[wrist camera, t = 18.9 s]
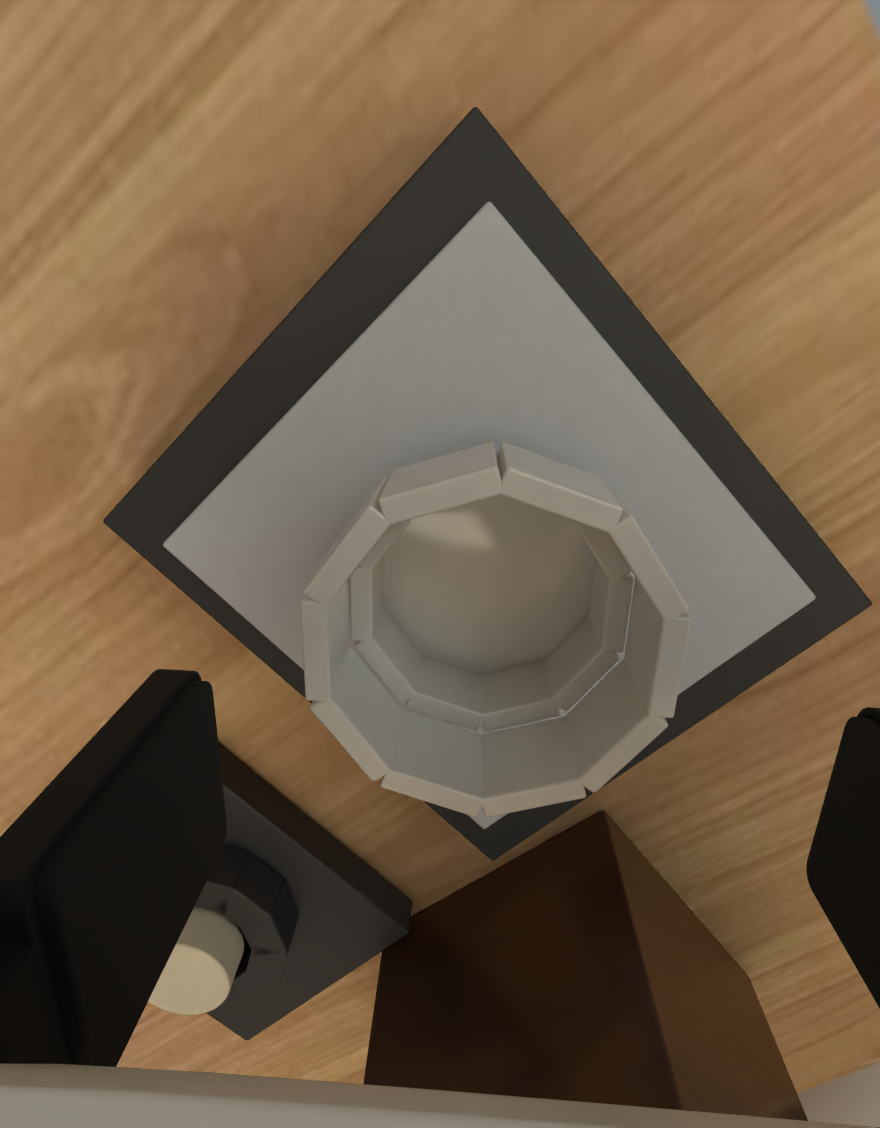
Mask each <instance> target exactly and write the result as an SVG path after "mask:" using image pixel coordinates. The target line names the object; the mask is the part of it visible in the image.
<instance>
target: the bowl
mask: <svg viewBox="0 0 880 1128" xmlns="http://www.w3.org/2000/svg"><path fill="white" fill-rule="evenodd" d="M631 571H632V572H633V574H634V575H635V584H634V591H633V598H632V605H631V612H630V619H629V626H628V633H627V640H626V647H625V654H624V659H623V660H621V661H620V662H619V663H618V664H617V665H616V666H615V667H614V668H613V669H612V670H611V671H610V672H609V673H608V674H607V675H606V676H605V677H604V678H603V679H602V680H601V681H600V682H599V683H598V684H597V685H596V686H595V687H594V688H593V689H592V690H591V691H590V692H589V693H588V694H587V695H586V696H585V697H584V698H583V699H582V700H581V701H580V702H579V703H578V704H577V705H576V706H575V707H574V708H573V709H572V710H571V711H570V712H569V713H568V714H567V715H566V716H565V717H561V718H556V719H552V720H547V721H543V722H538V723H534V724H529V725H525V726H520V727H516V728H511V729H506V730H502V731H497V732H493V733H488V734H484V735H480V734H477V733H474V732H471V731H468V730H465V729H462V728H459V727H456V726H453V725H450V724H447V723H443V722H440V721H437V720H434V719H431V718H428V717H425V716H422V715H419V714H416V713H413V712H410V711H407V710H404V709H401V708H400V707H399V706H398V705H397V703H396V702H395V701H394V700H393V698H392V697H391V696H390V695H389V693H388V692H387V691H386V690H385V689H384V687H383V686H382V685H381V684H380V682H379V681H378V680H377V679H376V677H375V676H374V675H373V674H372V673H371V671H370V670H369V669H368V668H367V666H366V665H365V664H364V663H363V661H362V660H361V659H360V658H359V656H358V655H357V654H356V653H355V652H354V650H353V649H352V648H351V647H350V630H349V593H348V578H349V591H350V629H351V640H353V641H356V642H355V645H354V648H355V649H356V651H357V652H358V653H359V654H360V655H361V657H362V658H363V659H364V660H365V662H366V663H367V664H368V665H369V667H370V668H371V669H372V670H373V671H374V673H375V674H376V675H377V676H378V678H379V679H380V680H381V681H382V683H383V684H384V685H385V686H386V688H387V689H388V690H389V691H390V692H391V694H392V695H393V696H394V697H395V699H396V700H397V701H398V702H399V703H400V704H401V703H403V702H405V701H406V700H407V701H406V708H407V709H410V710H413V711H416V712H419V713H422V714H425V715H428V716H432V717H435V718H438V719H441V720H444V721H447V722H450V723H453V724H456V725H459V726H462V727H465V728H468V729H471V730H474V731H478V730H479V728H480V726H481V724H482V726H483V729H484V731H485V732H487V731H492V730H496V729H501V728H506V727H510V726H515V725H519V724H524V723H528V722H533V721H537V720H542V719H546V718H551V717H556V716H559V715H560V711H559V707H560V708H561V709H562V710H564V711H568V710H569V709H570V708H571V707H572V706H573V705H574V704H575V703H576V702H577V701H578V700H579V699H580V698H581V697H582V696H583V695H584V694H585V693H586V692H587V691H588V690H589V689H590V688H591V687H592V686H593V685H594V684H595V683H596V682H597V681H598V680H599V679H600V678H601V677H602V676H603V675H604V674H605V673H606V672H607V671H608V670H609V669H610V668H611V667H612V666H613V665H614V664H615V663H616V662H617V661H618V660H619V656H618V654H617V652H618V653H621V652H623V650H624V644H625V637H626V630H627V622H628V615H629V608H630V601H631V594H632V587H633V580H634V579H633V576H632V575H631V573H630V572H631ZM304 594H305V595H304V597H303V599H302V601H301V603H300V609H301V627H302V645H303V663H304V680H305V697H306V700H309V701H312V703H311V706H310V709H311V711H312V712H313V713H314V714H315V716H316V717H317V718H318V719H319V720H320V721H321V723H322V724H323V725H324V726H325V727H326V728H327V729H328V731H329V732H330V733H331V734H332V735H333V736H334V738H335V739H336V740H337V741H338V742H339V743H340V744H341V746H342V747H343V748H344V749H345V750H346V751H347V753H348V754H349V755H350V756H351V757H352V758H353V760H354V761H355V762H356V763H357V764H358V765H359V766H360V768H361V769H362V770H363V771H364V772H365V773H366V775H367V776H368V777H369V778H370V779H371V780H372V781H376V780H378V779H380V778H382V780H381V787H382V788H384V789H388V790H391V791H394V792H397V793H400V794H403V795H407V796H410V797H413V798H416V799H419V800H422V801H426V802H429V803H432V804H435V805H438V806H442V807H445V808H448V809H451V810H454V811H457V812H461V813H464V814H467V815H470V816H473V817H477V816H478V815H479V812H480V810H481V808H482V809H483V812H484V815H485V816H486V817H493V816H498V815H503V814H507V813H512V812H517V811H522V810H527V809H532V808H537V807H542V806H547V805H552V804H557V803H562V802H567V801H572V800H577V799H582V798H585V797H586V791H585V787H586V788H587V789H588V790H590V791H591V792H593V793H595V792H597V791H598V790H599V789H600V788H601V787H602V786H603V785H604V784H606V783H607V782H608V781H609V780H610V779H611V778H612V777H613V776H614V775H615V774H616V773H618V772H619V771H620V770H621V769H622V768H623V767H624V766H625V765H626V764H627V763H629V762H630V761H631V760H632V759H633V758H634V757H635V756H636V755H637V754H638V753H639V752H641V751H642V750H643V749H644V748H645V747H646V746H647V745H648V744H649V743H650V742H651V741H653V740H654V739H655V738H656V737H657V736H658V735H659V734H660V733H661V732H662V731H664V730H665V729H666V728H667V726H668V723H667V721H666V719H665V718H673V717H674V712H675V707H676V701H677V696H678V690H679V685H680V679H681V674H682V668H683V662H684V657H685V651H686V646H687V640H688V635H689V629H690V624H691V618H690V616H689V615H688V613H687V612H686V611H687V610H688V609H689V607H688V605H687V603H686V601H685V600H684V598H683V596H682V595H681V593H680V591H679V590H678V588H677V587H676V585H675V583H674V582H673V580H672V578H671V577H670V575H669V573H668V572H667V570H666V569H665V567H664V565H663V564H662V562H661V560H660V559H659V557H658V555H657V554H656V552H655V551H654V549H653V547H652V546H651V544H650V542H649V541H648V539H647V537H646V536H645V534H644V533H643V531H642V529H641V528H640V526H639V524H638V523H637V521H636V519H635V518H634V516H633V515H632V514H631V512H630V511H629V510H628V508H627V507H626V506H625V504H624V503H623V502H622V500H621V499H620V498H619V497H618V495H617V494H616V493H615V491H614V490H613V489H612V487H611V486H610V485H609V484H607V485H605V483H604V482H603V480H602V479H601V478H600V477H598V476H596V475H593V474H590V473H587V472H585V471H582V470H579V469H576V468H574V467H571V466H568V465H565V464H563V463H560V462H557V461H554V460H552V459H549V458H546V457H544V456H541V455H538V454H535V453H533V452H530V451H527V450H524V449H522V448H519V447H516V446H513V445H511V444H508V443H502V444H501V446H500V449H499V451H496V448H495V444H494V443H493V442H489V443H486V444H482V445H479V446H475V447H472V448H468V449H465V450H461V451H458V452H454V453H451V454H447V455H444V456H440V457H437V458H433V459H429V460H426V461H422V462H419V463H415V464H412V465H408V466H405V467H401V468H398V469H394V470H393V471H392V473H391V475H390V477H389V478H388V477H386V476H384V477H383V478H382V479H381V480H380V482H379V483H378V484H377V486H376V487H375V488H374V490H373V491H372V492H371V494H370V495H369V496H368V498H367V499H366V500H365V502H364V503H363V504H362V505H361V507H360V508H359V509H358V511H357V512H356V513H355V515H354V516H353V517H352V519H351V520H350V521H349V523H348V524H347V525H346V527H345V528H344V529H343V531H342V532H341V533H340V535H339V536H338V537H337V539H336V540H335V541H334V543H333V544H332V545H331V547H330V548H329V549H328V551H327V552H326V554H325V556H324V557H323V559H322V561H321V563H320V564H319V566H318V568H317V569H316V571H315V573H314V574H313V576H312V578H311V579H310V581H309V583H308V584H307V586H306V588H305V590H304Z"/></svg>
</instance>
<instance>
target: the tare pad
mask: <svg viewBox="0 0 880 1128" xmlns="http://www.w3.org/2000/svg"><path fill="white" fill-rule="evenodd" d="M218 746H219V755H220V764H221V774H222V783H223V793H224V802H225V811H226V821H227V831H226V838H225V842H224V846H223V849H222V851H221V853H220V855H219V857H218V859H217V861H216V863H215V865H214V868H213V870H212V872H211V874H210V876H209V878H208V880H207V882H206V884H205V886H204V888H203V890H202V892H201V894H200V896H199V898H198V900H197V902H196V904H195V906H196V907H200V908H204V909H208V910H212V911H216V912H219V913H221V914H222V915H223V916H225V917H226V918H227V919H229V920H230V921H232V922H233V923H234V924H236V925H237V926H238V928H239V929H240V931H241V933H242V936H243V940H244V952H243V955H242V958H241V960H240V963H239V966H238V969H237V972H236V974H235V977H234V980H233V983H232V986H231V989H230V991H229V994H228V996H227V998H226V999H225V1000H224V1002H223V1003H222V1004H221V1005H220V1006H218V1007H217V1008H215V1009H214V1010H211V1011H209V1012H206V1013H207V1014H209V1015H210V1016H211V1017H213V1018H214V1019H216V1020H217V1021H219V1022H220V1023H222V1024H223V1025H225V1026H226V1027H227V1028H229V1029H230V1030H232V1031H233V1032H235V1033H236V1034H238V1035H239V1036H241V1037H242V1038H243V1039H245V1040H249V1039H251V1038H252V1037H254V1036H255V1035H257V1034H258V1033H260V1032H261V1031H263V1030H264V1029H266V1028H267V1027H269V1026H270V1025H272V1024H273V1023H275V1022H276V1021H278V1020H279V1019H281V1018H282V1017H284V1016H285V1015H287V1014H288V1013H290V1012H291V1011H293V1010H294V1009H296V1008H297V1007H299V1006H300V1005H302V1004H303V1003H305V1002H306V1001H308V1000H309V999H311V998H312V997H314V996H315V995H317V994H318V993H320V992H321V991H323V990H324V989H326V988H327V987H329V986H330V985H332V984H333V983H335V982H336V981H338V980H339V979H341V978H342V977H344V976H345V975H347V974H348V973H350V972H351V971H353V970H354V969H356V968H357V967H359V966H360V965H362V964H363V963H365V962H366V961H368V960H369V959H371V958H372V957H374V956H375V955H377V954H378V953H380V952H381V951H383V950H384V949H386V948H387V947H389V946H390V945H392V944H393V943H395V942H396V941H398V940H399V939H401V938H402V937H404V936H405V935H407V934H408V933H409V927H410V918H411V908H412V901H411V900H410V899H408V898H407V897H406V896H405V895H404V894H402V893H401V892H400V891H399V890H397V889H396V888H395V887H394V886H393V885H391V884H390V883H389V882H388V881H386V880H385V879H384V878H383V877H382V876H380V875H379V874H378V873H377V872H375V871H374V870H373V869H372V868H370V867H369V866H368V865H367V864H366V863H364V862H363V861H362V860H361V859H359V858H358V857H357V856H356V855H355V854H353V853H352V852H351V851H350V850H348V849H347V848H346V847H345V846H343V845H342V844H341V843H340V842H339V841H337V840H336V839H335V838H334V837H332V836H331V835H330V834H329V833H328V832H326V831H325V830H324V829H323V828H321V827H320V826H319V825H318V824H316V823H315V822H314V821H313V820H312V819H310V818H309V817H308V816H307V815H305V814H304V813H303V812H302V811H301V810H299V809H298V808H297V807H296V806H294V805H293V804H292V803H291V802H289V801H288V800H287V799H286V798H285V797H283V796H282V795H281V794H280V793H278V792H277V791H276V790H275V789H274V788H272V787H271V786H270V785H269V784H267V783H266V782H265V781H264V780H262V779H261V778H260V777H259V776H258V775H256V774H255V773H254V772H253V771H251V770H250V769H249V768H248V767H247V766H245V765H244V764H243V763H242V762H240V761H239V760H238V759H237V758H235V757H234V756H233V755H232V754H231V753H229V752H228V751H227V750H226V749H224V748H223V747H222V746H221V745H220V744H218Z"/></svg>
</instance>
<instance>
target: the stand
mask: <svg viewBox="0 0 880 1128" xmlns="http://www.w3.org/2000/svg"><path fill="white" fill-rule="evenodd" d="M364 1084H366V1085H379V1086H392V1087H405V1088H418V1089H431V1090H444V1091H456V1092H469V1093H481V1094H493V1095H505V1096H517V1097H530V1098H542V1099H554V1100H566V1101H578V1102H590V1103H603V1104H614V1105H626V1106H638V1107H650V1108H662V1109H674V1110H686V1111H698V1112H710V1113H722V1114H733V1115H745V1116H757V1117H768V1118H779V1119H790V1120H802V1121H808V1120H807V1117H806V1115H805V1112H804V1110H803V1108H802V1105H801V1102H800V1100H799V1098H798V1095H797V1093H796V1090H795V1088H794V1085H793V1083H792V1081H791V1078H790V1076H789V1073H788V1071H787V1068H786V1066H785V1064H784V1061H783V1059H782V1056H781V1054H780V1051H779V1049H778V1047H777V1044H776V1042H775V1039H774V1037H773V1034H772V1032H771V1029H770V1027H769V1025H768V1022H767V1020H766V1017H765V1015H764V1012H763V1010H762V1008H761V1005H760V1003H759V1000H758V998H757V995H756V993H755V991H754V988H753V986H752V983H751V981H750V978H749V977H748V976H747V975H746V973H745V972H744V971H743V970H742V969H741V968H740V967H739V965H738V964H737V963H736V962H735V961H734V960H733V959H732V957H731V956H730V955H729V954H728V953H727V952H726V950H725V949H724V948H723V947H722V946H721V945H720V944H719V942H718V941H717V940H716V939H715V938H714V937H713V935H712V934H711V933H710V932H709V931H708V930H707V929H706V927H705V926H704V925H703V924H702V923H701V922H700V920H699V919H698V918H697V917H696V916H695V915H694V914H693V912H692V911H691V910H690V909H689V908H688V907H687V906H686V904H685V903H684V902H683V901H682V900H681V899H680V897H679V896H678V895H677V894H676V893H675V892H674V891H673V889H672V888H671V887H670V886H669V885H668V884H667V882H666V881H665V880H664V879H663V878H662V877H661V876H660V874H659V873H658V872H657V871H656V870H655V869H654V868H653V866H652V865H651V864H650V863H649V862H648V861H647V859H646V858H645V857H644V856H643V855H642V854H641V853H640V851H639V850H638V849H637V848H636V847H635V846H634V844H633V843H632V842H631V841H630V840H629V839H628V838H627V836H626V835H625V834H624V833H623V832H622V831H621V829H620V828H619V827H618V826H617V825H616V824H615V823H614V821H613V820H612V819H611V818H610V817H609V816H608V815H607V813H606V812H605V811H602V812H600V813H598V814H596V815H595V816H593V817H591V818H589V819H587V820H586V821H584V822H582V823H580V824H578V825H577V826H575V827H573V828H571V829H569V830H568V831H566V832H564V833H562V834H561V835H559V836H557V837H555V838H553V839H552V840H550V841H548V842H546V843H544V844H543V845H541V846H539V847H537V848H535V849H534V850H532V851H530V852H528V853H526V854H525V855H523V856H521V857H519V858H518V859H516V860H514V861H512V862H510V863H509V864H507V865H505V866H503V867H501V868H500V869H498V870H496V871H494V872H492V873H491V874H489V875H487V876H485V877H483V878H482V879H480V880H478V881H476V882H475V883H473V884H471V885H469V886H467V887H466V888H464V889H462V890H460V891H458V892H457V893H455V894H453V895H451V896H449V897H448V898H446V899H444V900H442V901H440V902H439V903H437V904H435V905H433V906H432V907H430V908H428V909H426V910H424V911H423V912H421V913H419V914H417V915H415V916H414V917H412V918H410V927H409V933H408V934H407V935H405V936H404V937H402V938H401V939H399V940H398V941H396V942H395V943H393V944H392V945H390V946H389V947H387V948H386V949H384V950H383V951H382V956H381V963H380V970H379V977H378V984H377V991H376V998H375V1005H374V1013H373V1020H372V1027H371V1034H370V1041H369V1048H368V1055H367V1062H366V1069H365V1077H364Z"/></svg>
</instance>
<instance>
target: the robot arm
mask: <svg viewBox="0 0 880 1128" xmlns="http://www.w3.org/2000/svg"><path fill="white" fill-rule="evenodd" d="M226 831H227V821H226V811H225V802H224V793H223V783H222V774H221V764H220V755H219V746H218V736H217V727H216V718H215V708H214V699H213V691H212V686H211V684H210V683H209V682H208V681H201V677H200V675H199V673H197V672H196V671H185V670H166V669H158V670H156V671H155V672H153V673H152V674H151V675H150V676H149V677H148V679H147V680H146V681H145V682H144V683H143V684H142V685H141V686H140V687H139V688H138V689H137V690H136V691H135V693H134V694H133V695H132V696H131V697H130V698H129V699H128V700H127V701H126V702H125V703H124V704H123V705H122V707H121V708H120V709H119V710H118V711H117V712H116V713H115V714H114V715H113V716H112V717H111V718H110V719H109V721H108V722H107V723H106V724H105V725H104V726H103V727H102V728H101V729H100V730H99V731H98V732H97V733H96V735H95V736H94V737H93V738H92V739H91V740H90V741H89V742H88V743H87V744H86V745H85V746H84V747H83V749H82V750H81V751H80V752H79V753H78V754H77V755H76V756H75V757H74V758H73V759H72V760H71V761H70V763H69V764H68V765H67V766H66V767H65V768H64V769H63V770H62V771H61V772H60V773H59V774H58V775H57V777H56V778H55V779H54V780H53V781H52V782H51V783H50V784H49V785H48V786H47V787H46V788H45V789H44V790H43V792H42V793H41V794H40V795H39V796H38V797H37V798H36V799H35V800H34V801H33V802H32V803H31V804H30V806H29V807H28V808H27V809H26V810H25V811H24V812H23V813H22V814H21V815H20V816H19V817H18V818H17V820H16V821H15V822H14V823H13V824H12V825H11V826H10V827H9V828H8V829H7V830H6V831H5V832H4V834H3V835H2V836H1V837H0V1128H880V1127H868V1126H858V1125H846V1124H835V1123H824V1122H813V1121H802V1120H790V1119H779V1118H768V1117H757V1116H745V1115H733V1114H722V1113H710V1112H698V1111H686V1110H674V1109H662V1108H650V1107H638V1106H626V1105H614V1104H603V1103H590V1102H578V1101H566V1100H554V1099H542V1098H530V1097H517V1096H505V1095H493V1094H481V1093H469V1092H456V1091H444V1090H431V1089H418V1088H405V1087H392V1086H379V1085H366V1084H353V1083H340V1082H327V1081H314V1080H301V1079H288V1078H275V1077H262V1076H249V1075H236V1074H223V1073H209V1072H192V1071H175V1070H157V1069H140V1068H122V1067H116V1066H117V1064H118V1062H119V1059H120V1057H121V1055H122V1053H123V1051H124V1049H125V1047H126V1045H127V1043H128V1041H129V1039H130V1037H131V1035H132V1033H133V1031H134V1029H135V1027H136V1025H137V1023H138V1021H139V1019H140V1017H141V1015H142V1013H143V1010H144V1008H145V1006H146V1004H147V1002H148V1000H149V998H150V996H151V994H152V992H153V990H154V988H155V986H156V984H157V982H158V980H159V978H160V976H161V974H162V972H163V970H164V968H165V966H166V964H167V961H168V959H169V957H170V955H171V953H172V951H173V949H174V947H175V945H176V943H177V941H178V939H179V937H180V935H181V933H182V931H183V929H184V927H185V925H186V923H187V921H188V919H189V917H190V914H191V912H192V910H193V908H194V906H195V904H196V902H197V900H198V898H199V896H200V894H201V892H202V890H203V888H204V886H205V884H206V882H207V880H208V878H209V876H210V874H211V872H212V870H213V868H214V865H215V863H216V861H217V859H218V857H219V855H220V853H221V851H222V849H223V846H224V842H225V838H226ZM807 877H808V881H809V885H810V887H811V889H812V891H813V893H814V895H815V897H816V898H817V900H818V902H819V904H820V905H821V907H822V909H823V911H824V912H825V914H826V916H827V918H828V919H829V921H830V923H831V924H832V926H833V928H834V930H835V931H836V933H837V935H838V937H839V938H840V940H841V942H842V944H843V945H844V947H845V949H846V951H847V952H848V954H849V956H850V958H851V959H852V961H853V963H854V964H855V966H856V968H857V970H858V971H859V973H860V975H861V977H862V978H863V980H864V982H865V984H866V985H867V987H868V989H869V991H870V992H871V994H872V996H873V998H874V999H875V1001H876V1003H877V1005H878V1006H879V1008H880V708H868V707H867V708H865V709H862V711H861V712H860V713H859V714H858V716H857V717H852V718H850V719H849V720H848V721H847V723H846V725H845V728H844V731H843V735H842V739H841V742H840V746H839V749H838V753H837V756H836V760H835V764H834V767H833V771H832V774H831V778H830V781H829V785H828V789H827V792H826V796H825V799H824V803H823V806H822V810H821V814H820V817H819V821H818V824H817V828H816V831H815V835H814V839H813V842H812V846H811V849H810V853H809V857H808V860H807Z"/></svg>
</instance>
